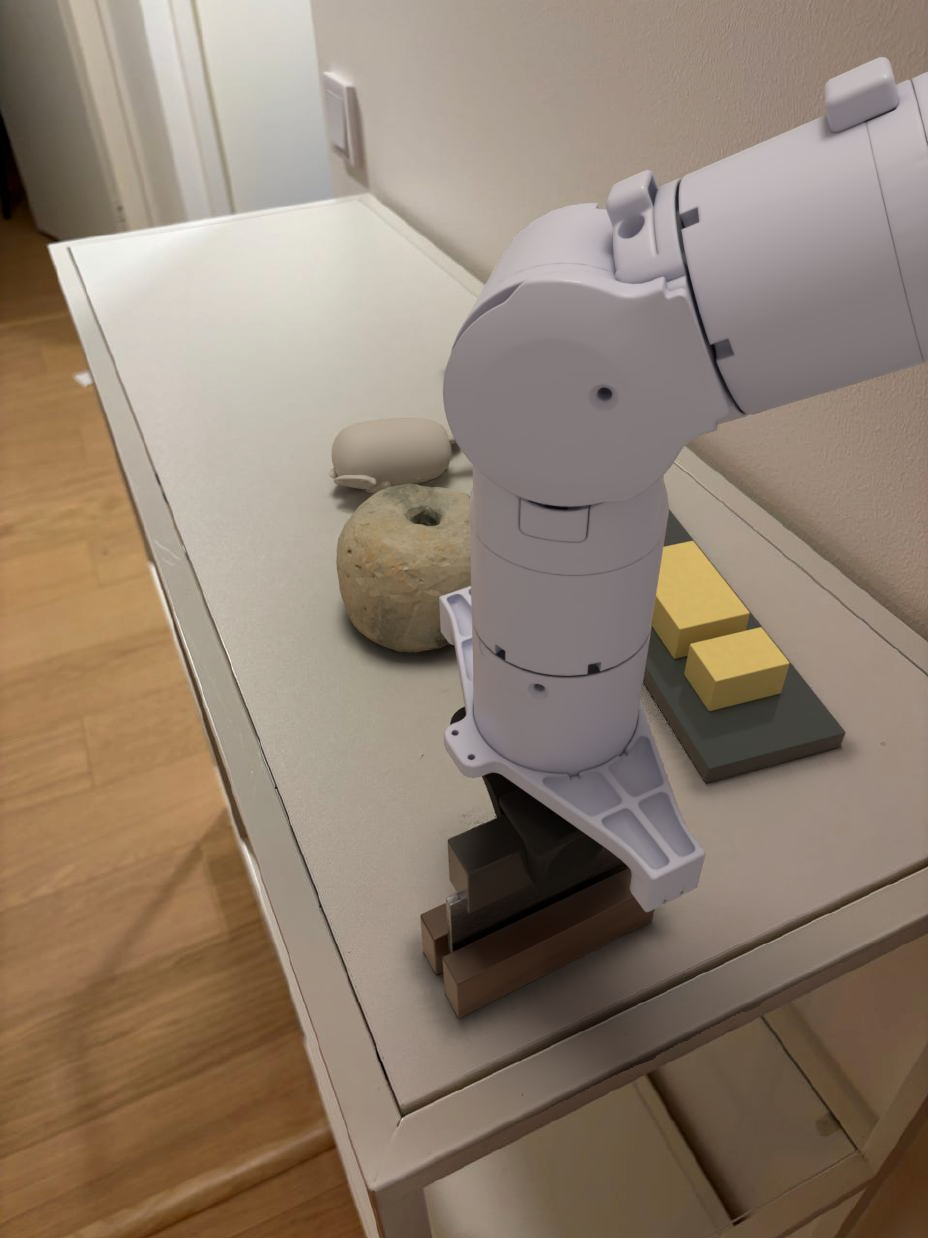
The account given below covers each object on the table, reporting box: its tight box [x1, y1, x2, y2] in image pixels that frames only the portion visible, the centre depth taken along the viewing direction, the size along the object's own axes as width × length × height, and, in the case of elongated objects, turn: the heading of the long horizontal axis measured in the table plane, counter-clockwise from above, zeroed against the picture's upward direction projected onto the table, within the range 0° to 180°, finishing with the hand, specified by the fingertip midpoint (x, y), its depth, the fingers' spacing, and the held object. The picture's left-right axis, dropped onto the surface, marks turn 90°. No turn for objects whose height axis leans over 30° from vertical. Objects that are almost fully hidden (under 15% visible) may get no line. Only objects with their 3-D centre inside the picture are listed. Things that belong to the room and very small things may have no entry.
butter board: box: [643, 508, 847, 784], centre depth 67 cm, size 46×8×1 cm, turn 17°
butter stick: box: [652, 540, 751, 659], centre depth 58 cm, size 7×4×2 cm, turn 17°
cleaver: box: [445, 814, 629, 953], centre depth 40 cm, size 2×9×7 cm, turn 117°
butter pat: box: [684, 626, 790, 711], centre depth 53 cm, size 3×4×2 cm
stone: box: [335, 483, 471, 654], centre depth 58 cm, size 10×10×10 cm
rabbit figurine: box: [328, 417, 457, 495], centre depth 70 cm, size 6×5×12 cm
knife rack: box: [419, 868, 656, 1019], centre depth 43 cm, size 4×10×3 cm, turn 117°
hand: (545, 858), depth 40 cm, fingers closed on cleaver, 2 cm apart
